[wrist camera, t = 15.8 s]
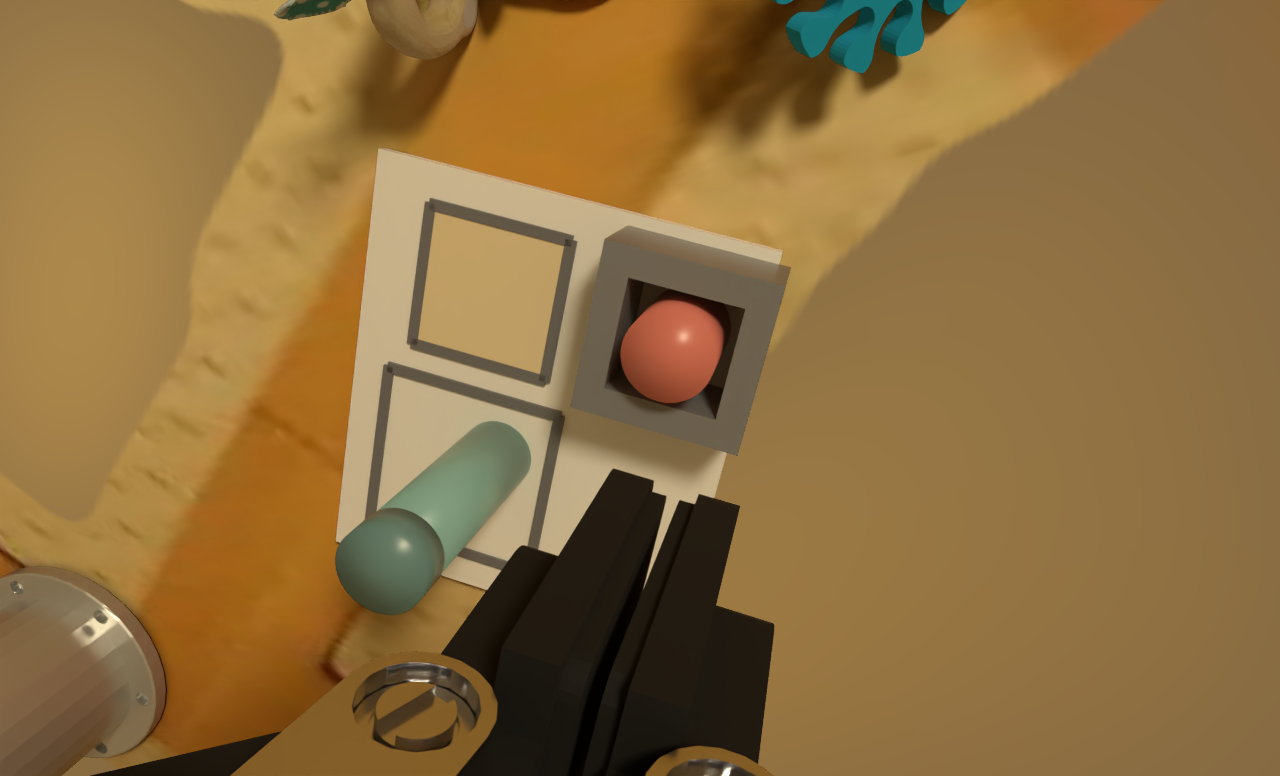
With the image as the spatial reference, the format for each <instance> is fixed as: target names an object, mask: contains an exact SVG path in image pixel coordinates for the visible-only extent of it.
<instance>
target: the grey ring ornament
mask: <svg viewBox="0 0 1280 776" xmlns="http://www.w3.org/2000/svg"><path fill="white" fill-rule="evenodd" d="M349 1H351V0H289V1H287V2H285V3H284V4H283V5H281V6H280V7H279V8H278V9H277V10H276V11H275V13H274V15H275V16H276V17H277V18H281V19H288V20H293V19H298V18H304V17H310V16H316V15H321V14H325V13H329V12H333V11H336V10H338V9H339V8H342V7H346V4H347V3H348V2H349ZM565 1H567V0H565ZM366 2H367V7H368V10H369V13H370V16H371V19H372V22H373V24H374V25H375V27H376V29H377V31H378V32H379V33H380V35H381V36H382V37H383V39H384V40H385V41H386V42H387V43H388V44H390V45H391V46H392V47H394V48H395V49H396V50H398V51H399V52H401V53H403V54H405V55H407V56H410V57H414V58H419V59H434V58H438V57H440V56H443V55H445V54H446V53H448V52H449V51H451V50H452V49H453V48H454V47H455V46H456V45H457V44H458V43H459V42H460V40H461V39H462V38H464V37H466V36H468V35H469V34H470V33H471V32H472V30H473V28H474V26H475V23H476V20H477V12H478V0H429V4H428V8H427V11H426V12H425V14H424V15H422V14H421V12H420V10H419V7H418V4H417V1H416V0H366Z"/></svg>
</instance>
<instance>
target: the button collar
mask: <svg viewBox="0 0 1280 776" xmlns="http://www.w3.org/2000/svg"><path fill="white" fill-rule="evenodd" d="M790 269H791V267H787V266H783V265H779V264H775V263H772V262H768V261H764V260H760V259H756V258H752V257H749V256H745V255H741V254H737V253H733V252H729V251H725V250H722V249H718V248H714V247H710V246H706V245H702V244H698V243H695V242H691V241H687V240H683V239H679V238H675V237H672V236H668V235H664V234H660V233H656V232H652V231H648V230H645V229H641V228H637V227H633V226H629V225H628V226H626V227H624V228H623V229H621V230H619V231H617V232H616V233H614V234H612V235H610V236H609V237H607V238H605V239H604V243H603V248H602V253H601V258H600V263H599V268H598V273H597V278H596V283H595V287H594V292H593V297H592V302H591V307H590V312H589V317H588V322H587V326H586V331H585V336H584V341H583V346H582V351H581V356H580V361H579V366H578V370H577V375H576V380H575V385H574V390H573V395H572V400H571V405H570V407H571V408H574V409H578V410H581V411H585V412H588V413H591V414H595V415H598V416H602V417H605V418H609V419H612V420H616V421H619V422H622V423H626V424H629V425H633V426H636V427H640V428H643V429H647V430H650V431H653V432H657V433H660V434H664V435H667V436H671V437H674V438H678V439H681V440H684V441H688V442H691V443H695V444H698V445H702V446H705V447H709V448H712V449H715V450H719V451H722V452H726V453H729V454H733V455H736V456H737V455H738V452H739V448H740V445H741V442H742V438H743V435H744V431H745V428H746V424H747V421H748V417H749V414H750V410H751V407H752V403H753V400H754V396H755V393H756V389H757V386H758V382H759V379H760V375H761V372H762V368H763V364H764V361H765V358H766V354H767V350H768V347H769V343H770V340H771V336H772V333H773V329H774V326H775V322H776V319H777V315H778V312H779V308H780V305H781V301H782V298H783V294H784V291H785V287H786V284H787V280H788V277H789V273H790ZM644 282H646V283H650V284H654V285H658V286H661V287H665V288H669V289H673V290H676V291H680V292H684V293H688V294H691V295H695V296H699V297H702V298H706V299H710V300H714V301H717V302H721V303H725V304H729V305H732V306H736V307H740V308H744V309H745V313H744V316H743V320H742V324H741V327H740V331H739V335H738V339H737V342H736V346H735V350H734V353H733V357H732V361H731V365H730V368H729V372H728V376H727V379H726V383H725V387H724V388H722V387H718V386H715V385H711V384H707V385H706V387H705V388H704V389H703V390H702V391H701V392H700V393H698V394H697V395H696V396H694V397H692V398H690V399H688V400H685V401H682V402H677V403H663V402H659V401H655V400H652V399H650V398H648V397H646V396H644V395H643V394H641V393H640V392H639V391H637V390H636V389H635V388H634V387H633V386H632V384H631V383H630V382H629V380H628V379H627V377H626V375H625V373H624V370H623V367H622V363H621V345H622V342H623V339H624V336H625V334H626V332H627V331H628V329H629V328H630V327H631V325H632V324H633V323H634V322H635V321H636V317H637V312H638V308H639V304H640V299H641V295H642V290H643V286H644Z"/></svg>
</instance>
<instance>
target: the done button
mask: <svg viewBox="0 0 1280 776" xmlns="http://www.w3.org/2000/svg"><path fill="white" fill-rule="evenodd" d="M730 330H731V323H730V317H729V314H728V311H727V309H726V307H725V305H724V303H721V302H717V301H714V300H710V299H706V298H702V297H699V296H695V295H691V294H688V293H684V292H680V291H676V290H673V289H667V290H666V291H664V292H663V293H662V294H661V295H659V296H658V297H657V298H656V300H655V301H654V302H653V303H652V304H651V305H650V306H649V307H648V308H647V309H646V310H645V311H644V312H643V313H642V315H641V316H640V317H639V318H638V319H637V320H636V321H635V322H634V323H633V324H632V325H631V327H630V328H629V329H628V331H627V332H626V334H625V336H624V339H623V342H622V345H621V363H622V367H623V370H624V373H625V375H626V377H627V379H628V380H629V382H630V383H631V384H632V386H633V387H634V388H635V389H636V390H637V391H639V392H640V393H641V394H643V395H644V396H646V397H648V398H650V399H652V400H655V401H659V402H663V403H677V402H682V401H685V400H688V399H690V398H692V397H694V396H696V395H697V394H698V393H700V392H701V391H702V390H703V389H704V388H705V387H706V385H707V384H708V382H709V381H710V379H711V377H712V375H713V372H714V370H715V368H716V366H717V364H718V362H719V360H720V357H721V355H722V353H723V351H724V349H725V347H726V345H727V342H728V340H729V336H730Z"/></svg>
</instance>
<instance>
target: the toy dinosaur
mask: <svg viewBox="0 0 1280 776" xmlns="http://www.w3.org/2000/svg"><path fill="white" fill-rule="evenodd" d="M772 1H775V2H777V3H779V4H787V3H790V2H791V1H793V0H772ZM965 1H966V0H928V4H929V6H930V8H932V9H933V10H936V11H939V12H941V13H944V14H947V15H950V14H952V13H953V12H955V11H956V10H957V9H958V8H960V7H961V6H962V5H963V4H964V3H965ZM922 2H923V0H827V1H826V3H825V5H824V6H823V7H822V8H821V9H820V10H819V11H816V12H799V13H797V14H795V15H794V16H793V17H791V18H790V20H789V21H788V23H787V25H786V31H787V35H788V38H789V40H790V42H791V44H792V45H793V47H794V48H795V50H796V51H797V52H799V53H801V54H803V55H805V56H808V57H810V58H813V57H816V56H817V55H819V54H820V53H821V52H822V51H823V50H824V48H825V47H826V45H827V43H828V41H829V39H830V37H831V35H832V34H833V32H834V31H835V29H836V28H837V27H838V26H839V25H840V24H841V23H842V22H843V21H844V20H845V19H846V18H847V17H848V16H850V15H851V14H853V13H854V12H856V11H858V10H860V12H859V18H858V20H857V22H856V24H855V25H854V26H853V28H851V29H850V30H849V31H847V32H845V33H844V34H842V35H841V36H839V37H838V38H837V39H836V40H835V42H834V43H833V45H832V47H831V49H830V53H829V57H830V58H831V59H832V60H833V61H834V62H836V63H837V64H840V65H842V66H844V67H846V68H848V69H850V70H853V71H855V72H859V73H864V72H865V71H866V70H867V68H868V67H869V65H870V63H871V61H872V58H873V52H874V46H875V42H876V39H877V36H878V33H879V31H880V29H881V27H882V25H883V23H884V21H885V20H886V18H887V17H888V15H889V14H890V12H891V11H892V10H893V8H894V7H895V6H896V4H897V9H896V12H895V15H894V16H893V18H892V19H891V21H890V22H889V23H888V25H887V26H886V28H885V29H884V31H883V34H882V37H881V49H882V50H884V51H887V52H889V53H891V54H894V55H896V56H907V55H910V54H912V53H915V52H917V51H919V50H920V49H921V47H922V45H923V41H924V30H923V27H922V21H921V9H922Z"/></svg>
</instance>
